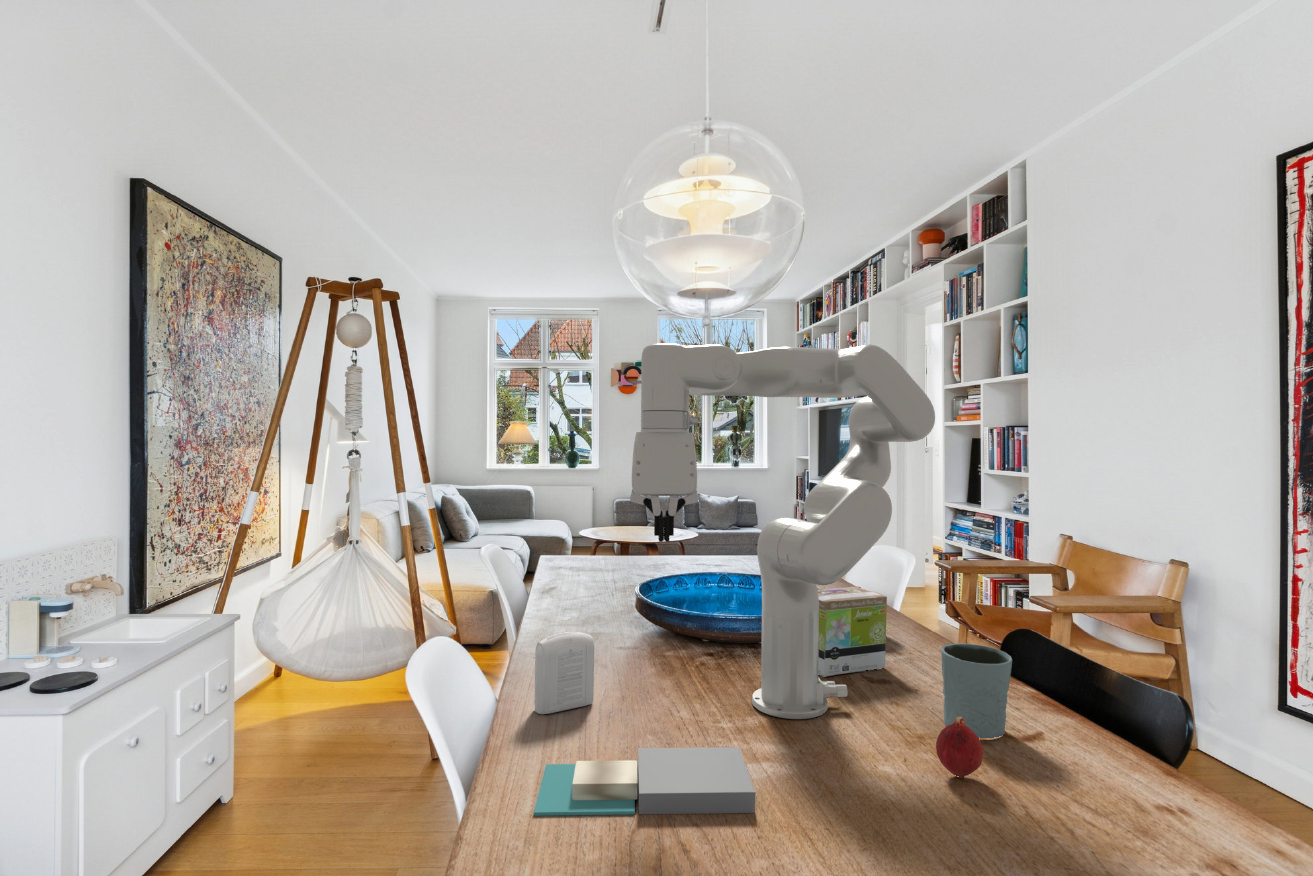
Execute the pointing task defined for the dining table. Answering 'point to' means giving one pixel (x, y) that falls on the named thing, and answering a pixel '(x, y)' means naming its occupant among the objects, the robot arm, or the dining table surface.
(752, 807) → the grey flat slab
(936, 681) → the dining table surface
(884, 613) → the tea box
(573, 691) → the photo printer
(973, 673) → the blue ceramic planter
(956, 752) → the onion
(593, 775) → the birch tile
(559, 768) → the teal mat
